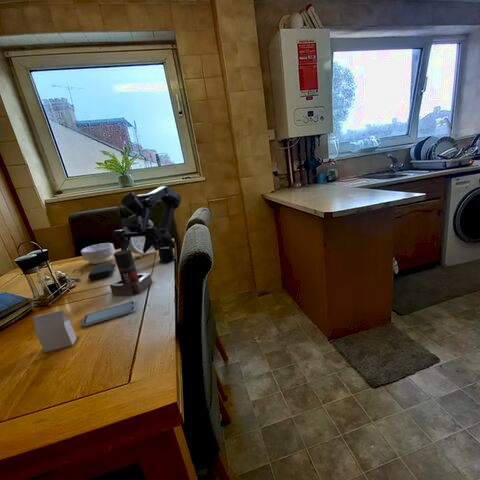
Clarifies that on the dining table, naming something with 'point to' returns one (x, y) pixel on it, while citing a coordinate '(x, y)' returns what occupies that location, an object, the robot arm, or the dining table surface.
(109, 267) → the carrying case
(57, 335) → the white angled block
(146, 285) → the holder
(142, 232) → the robot arm
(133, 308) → the smartphone
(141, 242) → the alarm clock
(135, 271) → the deodorant
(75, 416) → the dining table surface
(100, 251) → the paper bowls
